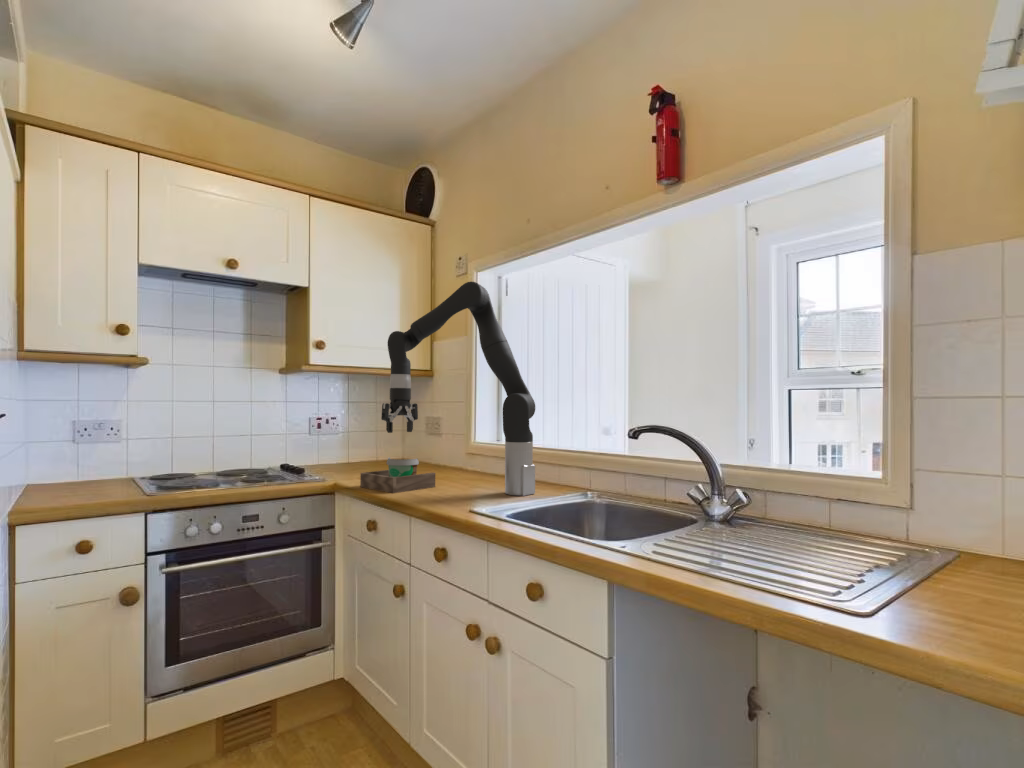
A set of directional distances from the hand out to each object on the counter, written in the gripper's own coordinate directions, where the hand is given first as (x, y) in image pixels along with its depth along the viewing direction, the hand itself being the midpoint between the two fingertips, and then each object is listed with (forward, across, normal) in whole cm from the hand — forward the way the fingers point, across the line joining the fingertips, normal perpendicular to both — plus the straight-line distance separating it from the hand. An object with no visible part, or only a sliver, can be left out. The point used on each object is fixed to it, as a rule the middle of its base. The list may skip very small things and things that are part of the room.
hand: (399, 432), depth 194 cm
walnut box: (+19, 0, 0) cm, 19 cm away
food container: (+20, 0, 0) cm, 20 cm away
